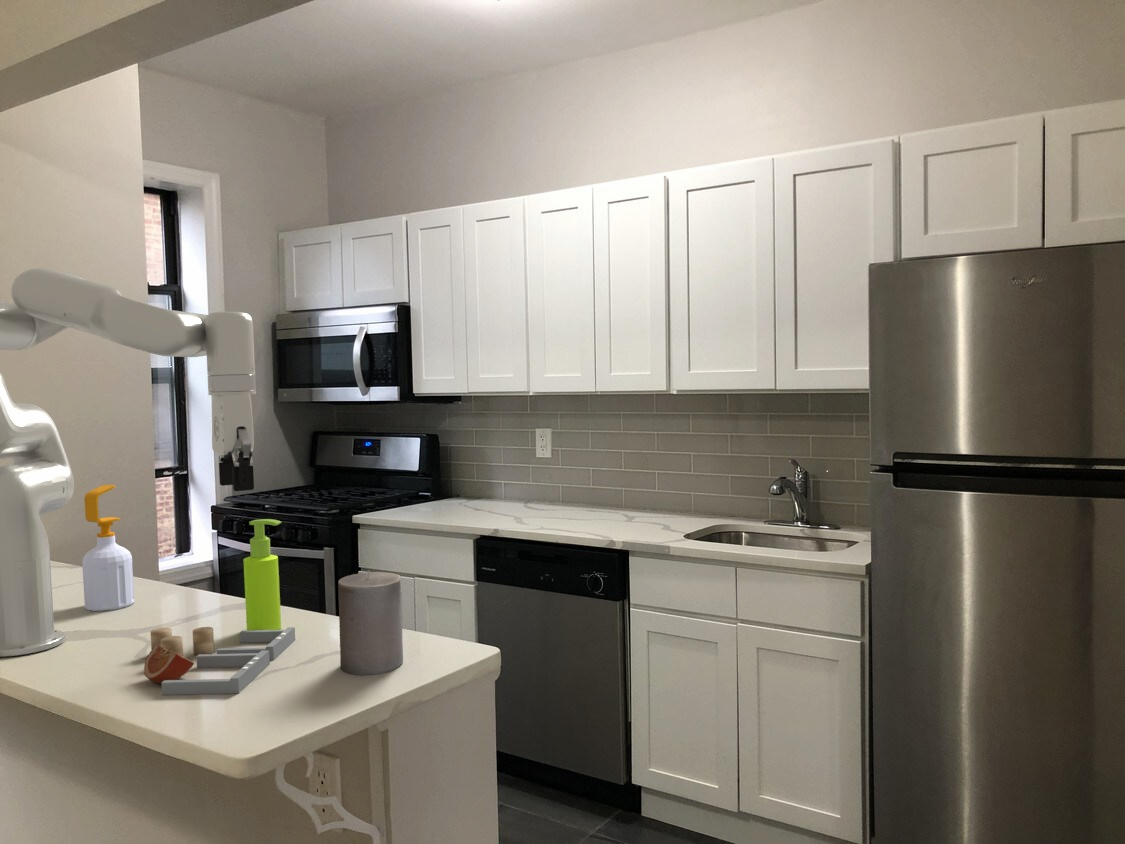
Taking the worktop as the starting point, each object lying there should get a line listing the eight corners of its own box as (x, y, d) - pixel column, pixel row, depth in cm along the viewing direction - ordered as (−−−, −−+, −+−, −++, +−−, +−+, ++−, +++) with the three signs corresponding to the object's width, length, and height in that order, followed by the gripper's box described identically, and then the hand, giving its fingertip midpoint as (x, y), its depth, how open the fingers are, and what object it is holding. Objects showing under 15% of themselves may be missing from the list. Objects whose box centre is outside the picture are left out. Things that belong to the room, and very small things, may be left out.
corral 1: (162, 694, 131) (161, 679, 131) (199, 665, 144) (198, 651, 144) (238, 693, 131) (238, 677, 131) (269, 664, 144) (268, 649, 144)
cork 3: (190, 656, 149) (189, 632, 149) (198, 650, 152) (197, 627, 152) (209, 656, 149) (208, 632, 149) (217, 650, 152) (216, 626, 152)
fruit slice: (137, 679, 138) (135, 647, 138) (181, 668, 143) (180, 637, 143) (156, 692, 132) (154, 659, 132) (202, 680, 137) (200, 648, 137)
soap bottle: (143, 603, 186) (137, 484, 184) (100, 614, 178) (93, 489, 176) (118, 598, 190) (111, 482, 189) (75, 608, 183) (68, 487, 181)
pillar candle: (330, 664, 143) (326, 570, 142) (387, 650, 149) (383, 560, 148) (357, 680, 135) (353, 581, 134) (415, 665, 141) (412, 571, 140)
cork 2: (158, 666, 144) (156, 642, 144) (167, 660, 147) (166, 636, 147) (178, 666, 144) (176, 641, 144) (186, 660, 147) (185, 635, 147)
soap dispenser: (276, 635, 160) (270, 522, 159) (240, 634, 161) (235, 522, 160) (292, 625, 166) (287, 517, 164) (257, 624, 167) (252, 517, 166)
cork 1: (148, 657, 149) (146, 633, 149) (157, 651, 152) (156, 627, 152) (167, 657, 149) (166, 633, 149) (176, 651, 152) (174, 627, 152)
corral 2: (217, 661, 146) (216, 647, 146) (242, 640, 157) (241, 627, 157) (273, 659, 146) (273, 645, 146) (295, 639, 157) (294, 626, 157)
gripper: (197, 386, 157) (202, 484, 158) (220, 386, 143) (225, 495, 144) (242, 385, 161) (246, 481, 162) (268, 385, 147) (273, 490, 148)
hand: (236, 487), depth 153 cm, fingers open, 9 cm apart
